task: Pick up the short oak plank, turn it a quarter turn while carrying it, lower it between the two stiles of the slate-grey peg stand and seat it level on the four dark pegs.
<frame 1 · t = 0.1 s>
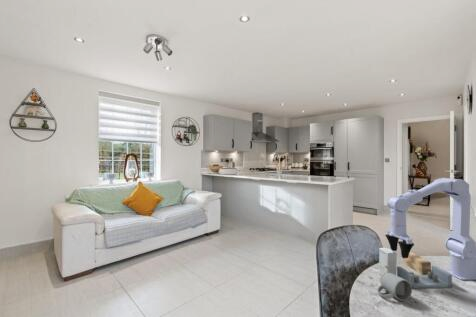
hand: (399, 254, 103), 10 cm above the table, fingers open, 7 cm apart
skincare box: (387, 277, 103), on the table
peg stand: (423, 282, 98), on the table
oak plank: (416, 269, 110), on the table
ceramic mug: (392, 296, 89), on the table
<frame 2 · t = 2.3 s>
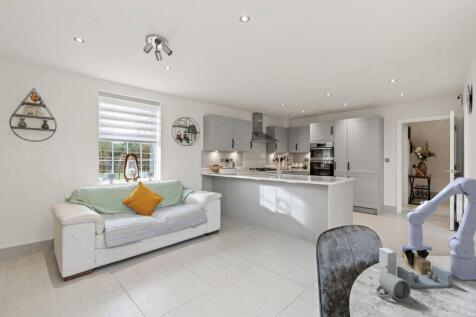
hand: (415, 265, 110), 2 cm above the table, fingers closed on oak plank, 4 cm apart
oak plank: (416, 268, 110), on the table, touching gripper
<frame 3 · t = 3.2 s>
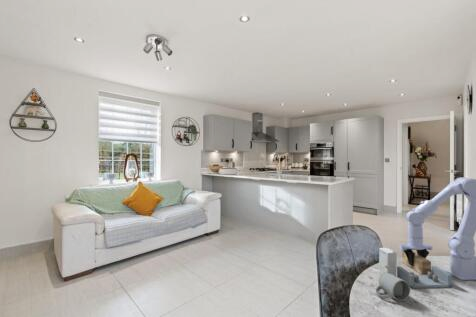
hand: (416, 264, 110), 2 cm above the table, fingers closed on oak plank, 4 cm apart
oak plank: (416, 268, 110), on the table, touching gripper
everything else where it was.
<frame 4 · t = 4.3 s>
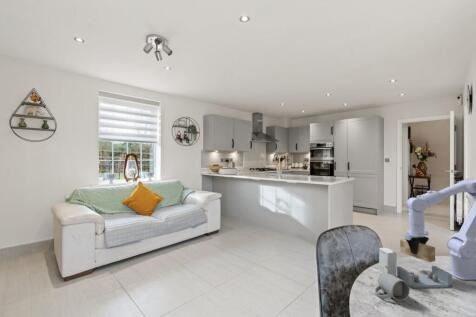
hand: (417, 252, 107), 9 cm above the table, fingers closed on oak plank, 4 cm apart
oak plank: (417, 256, 107), point 7 cm above the table, touching gripper
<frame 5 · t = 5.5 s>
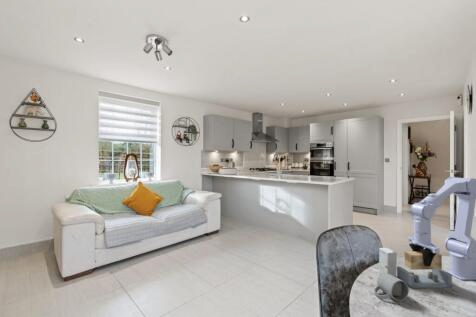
hand: (423, 263, 98), 8 cm above the table, fingers closed on oak plank, 4 cm apart
oak plank: (422, 267, 98), point 6 cm above the table, touching gripper
when the fingers open (6 cm above the table, at t = 6.3 s): oak plank stays where it is, resting on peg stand.
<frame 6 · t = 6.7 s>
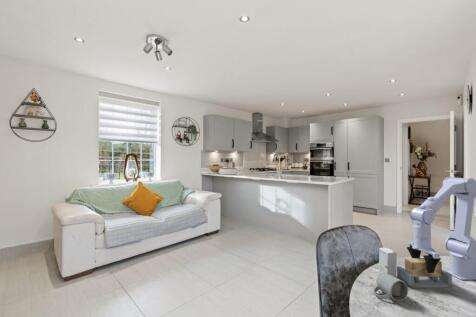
hand: (423, 268, 98), 6 cm above the table, fingers open, 7 cm apart
oak plank: (423, 274, 98), point 3 cm above the table, touching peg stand
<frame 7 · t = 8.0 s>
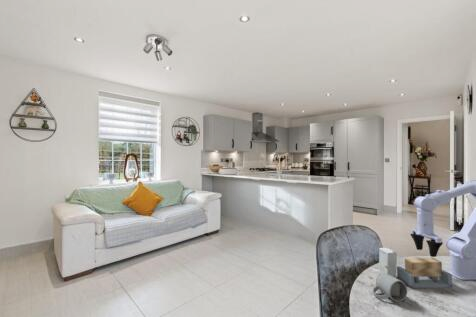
hand: (426, 252, 104), 10 cm above the table, fingers open, 7 cm apart
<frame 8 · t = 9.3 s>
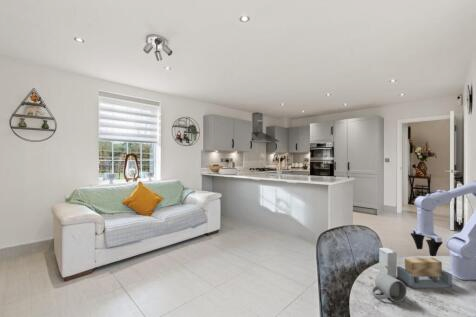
hand: (426, 252, 105), 10 cm above the table, fingers open, 7 cm apart
at the end: oak plank 0.1 cm off-centre on the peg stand, point 3.5 cm above the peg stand's base; oak plank tilted 0°; the gripper is holding nothing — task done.
